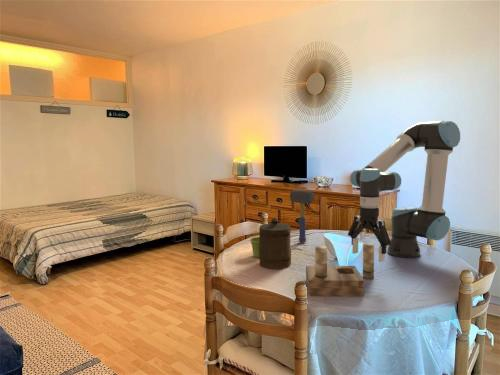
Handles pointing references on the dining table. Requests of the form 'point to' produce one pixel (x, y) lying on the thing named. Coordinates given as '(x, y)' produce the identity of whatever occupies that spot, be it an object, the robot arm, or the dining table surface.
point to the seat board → (332, 278)
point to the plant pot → (255, 246)
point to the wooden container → (275, 245)
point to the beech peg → (368, 261)
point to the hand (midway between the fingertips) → (368, 257)
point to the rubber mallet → (302, 208)
